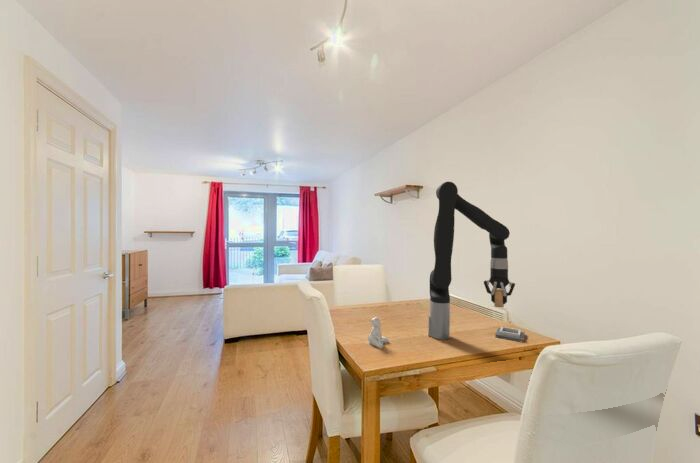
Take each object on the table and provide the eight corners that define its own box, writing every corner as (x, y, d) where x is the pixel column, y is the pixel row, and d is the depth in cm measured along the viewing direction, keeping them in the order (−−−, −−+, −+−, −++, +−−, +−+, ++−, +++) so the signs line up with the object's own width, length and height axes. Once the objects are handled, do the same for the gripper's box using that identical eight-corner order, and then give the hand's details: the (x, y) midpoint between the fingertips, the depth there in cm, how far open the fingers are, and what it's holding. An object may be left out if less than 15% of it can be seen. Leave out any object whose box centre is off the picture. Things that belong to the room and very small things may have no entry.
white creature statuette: (381, 349, 127) (381, 321, 127) (363, 345, 132) (364, 318, 132) (389, 342, 136) (389, 316, 136) (372, 338, 140) (372, 313, 140)
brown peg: (493, 306, 140) (493, 289, 140) (494, 305, 143) (495, 288, 143) (503, 307, 138) (503, 290, 138) (504, 306, 141) (504, 289, 141)
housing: (495, 336, 144) (495, 331, 144) (498, 330, 154) (498, 324, 154) (523, 342, 138) (523, 336, 138) (524, 334, 148) (524, 329, 148)
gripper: (481, 267, 141) (481, 302, 141) (515, 269, 133) (515, 307, 133) (484, 265, 147) (484, 299, 147) (516, 267, 139) (516, 303, 140)
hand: (499, 302), depth 140 cm, fingers closed on brown peg, 4 cm apart
